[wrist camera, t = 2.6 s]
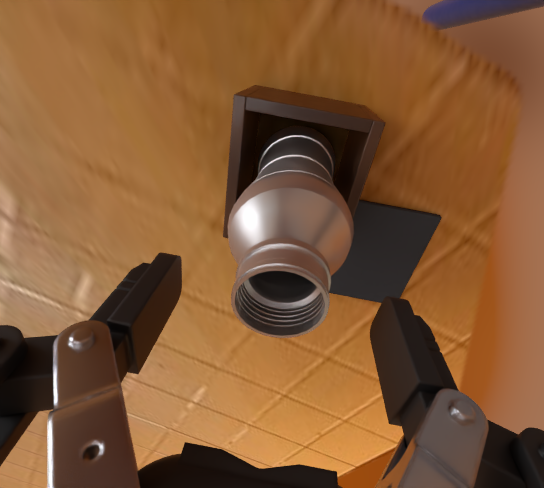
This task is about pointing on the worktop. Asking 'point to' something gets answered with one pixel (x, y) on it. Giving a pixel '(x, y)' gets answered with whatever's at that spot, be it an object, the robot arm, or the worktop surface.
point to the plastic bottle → (289, 235)
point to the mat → (383, 251)
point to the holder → (305, 108)
